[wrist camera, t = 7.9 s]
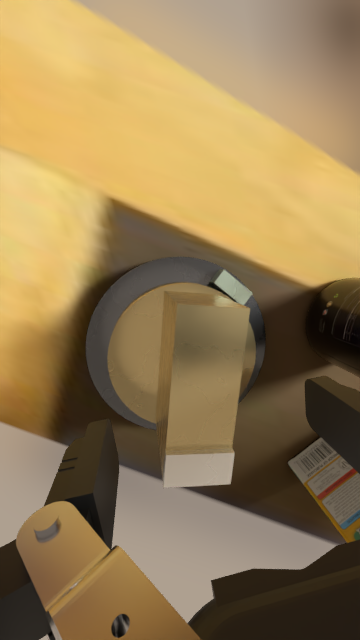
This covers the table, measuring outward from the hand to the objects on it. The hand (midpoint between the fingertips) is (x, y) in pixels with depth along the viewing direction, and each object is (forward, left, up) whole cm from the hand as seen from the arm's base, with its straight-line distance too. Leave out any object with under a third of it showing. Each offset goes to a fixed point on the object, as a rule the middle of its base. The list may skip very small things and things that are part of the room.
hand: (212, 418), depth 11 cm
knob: (0, 0, -7) cm, 7 cm away
